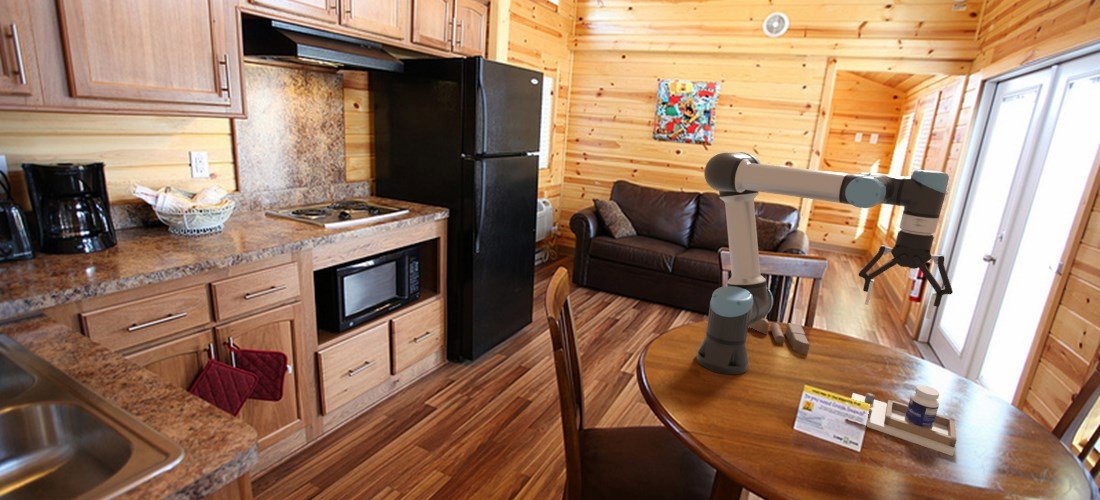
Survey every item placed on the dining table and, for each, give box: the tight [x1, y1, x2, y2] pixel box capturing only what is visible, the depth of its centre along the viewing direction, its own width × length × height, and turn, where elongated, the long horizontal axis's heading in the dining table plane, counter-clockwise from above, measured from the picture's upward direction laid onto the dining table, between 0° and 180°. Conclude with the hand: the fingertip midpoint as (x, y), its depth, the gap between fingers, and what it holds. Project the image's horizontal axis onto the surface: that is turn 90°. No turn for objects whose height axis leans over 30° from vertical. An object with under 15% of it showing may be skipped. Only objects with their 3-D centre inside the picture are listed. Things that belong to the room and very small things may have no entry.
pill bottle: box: [905, 384, 940, 430], centre depth 124 cm, size 6×6×10 cm
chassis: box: [850, 392, 958, 457], centre depth 128 cm, size 22×14×4 cm, turn 54°
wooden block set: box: [748, 318, 811, 356], centre depth 175 cm, size 17×6×18 cm
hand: (896, 310), depth 133 cm, fingers open, 13 cm apart
